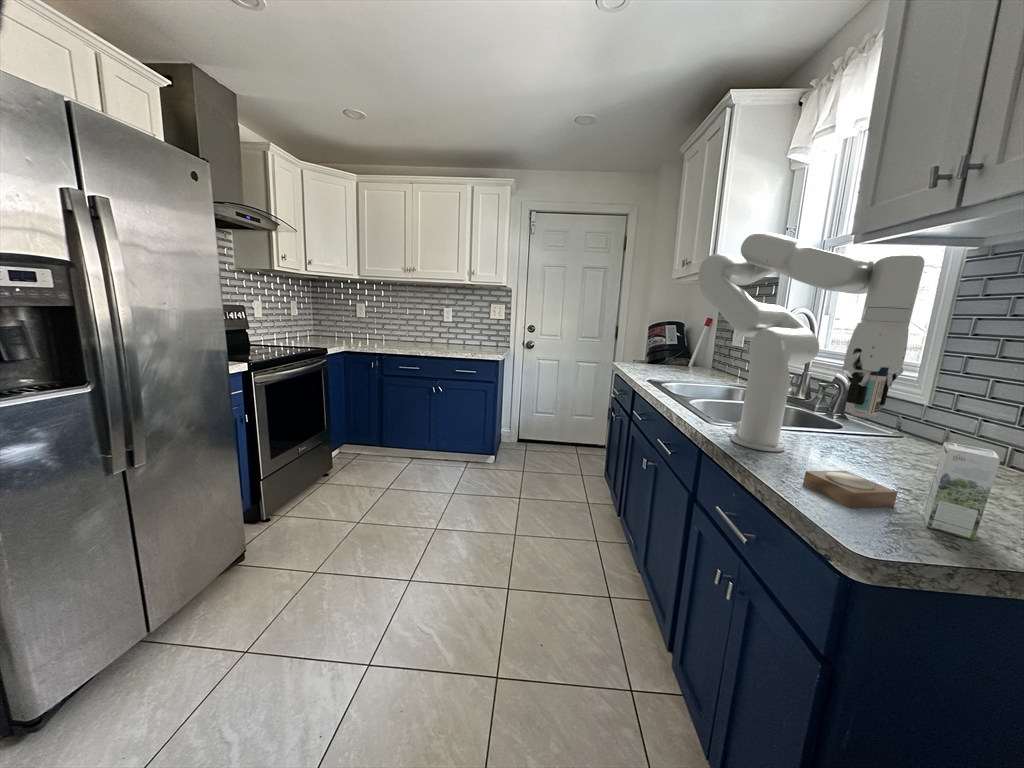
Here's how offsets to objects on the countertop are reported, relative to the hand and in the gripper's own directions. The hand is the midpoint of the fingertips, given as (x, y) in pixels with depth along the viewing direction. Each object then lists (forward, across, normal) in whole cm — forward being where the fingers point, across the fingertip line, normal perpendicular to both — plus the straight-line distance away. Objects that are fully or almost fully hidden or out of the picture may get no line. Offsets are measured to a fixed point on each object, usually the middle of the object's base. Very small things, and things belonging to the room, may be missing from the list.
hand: (865, 402), depth 86 cm
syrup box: (+17, +4, +21) cm, 27 cm away
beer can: (+3, 0, 0) cm, 3 cm away
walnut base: (+17, +10, +8) cm, 21 cm away
